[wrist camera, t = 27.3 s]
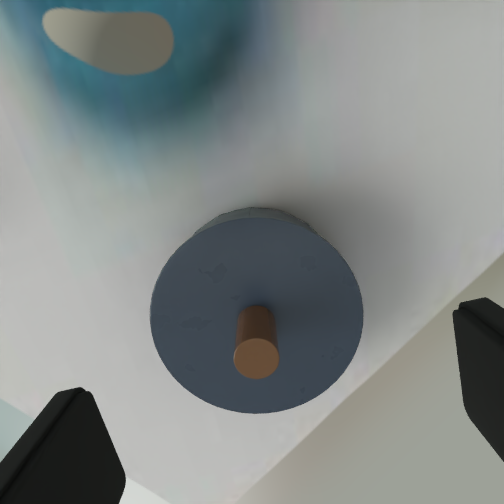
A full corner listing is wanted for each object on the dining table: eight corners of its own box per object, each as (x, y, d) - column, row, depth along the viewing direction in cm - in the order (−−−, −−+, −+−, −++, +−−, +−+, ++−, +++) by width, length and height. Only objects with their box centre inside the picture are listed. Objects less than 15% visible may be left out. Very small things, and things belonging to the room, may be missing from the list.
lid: (125, 243, 28) (90, 270, 22) (338, 190, 27) (361, 203, 21) (187, 422, 32) (171, 484, 26) (375, 382, 31) (403, 438, 25)
